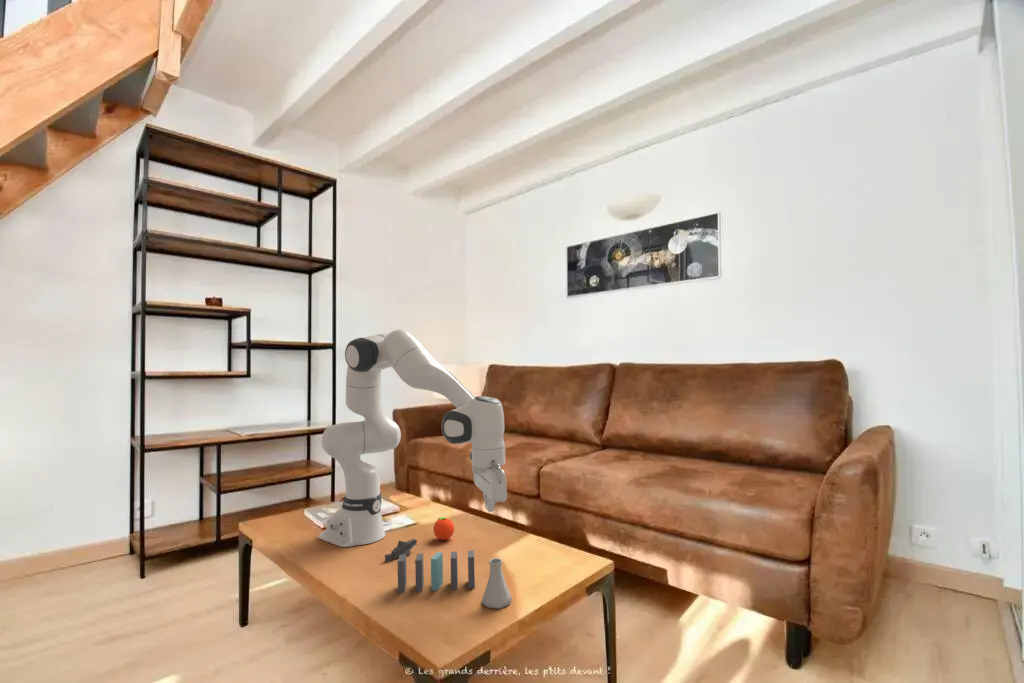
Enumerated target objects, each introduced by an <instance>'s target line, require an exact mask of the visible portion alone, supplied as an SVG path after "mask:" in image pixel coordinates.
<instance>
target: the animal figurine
mask: <svg viewBox="0 0 1024 683" xmlns="http://www.w3.org/2000/svg"><path fill="white" fill-rule="evenodd" d="M417 543H418V540H417V539H414V538H412V539H409V540H407V541H402V540H398V544H397V546H396V547H394V548H393V549H392V550H391V553H388V554H384V563H389V562H390V561H392V560H394V559H399V556H400V555H403V554H406V557H410V553H411V550H413V548H414V547H416V546H417V545H418V544H417Z"/></svg>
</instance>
